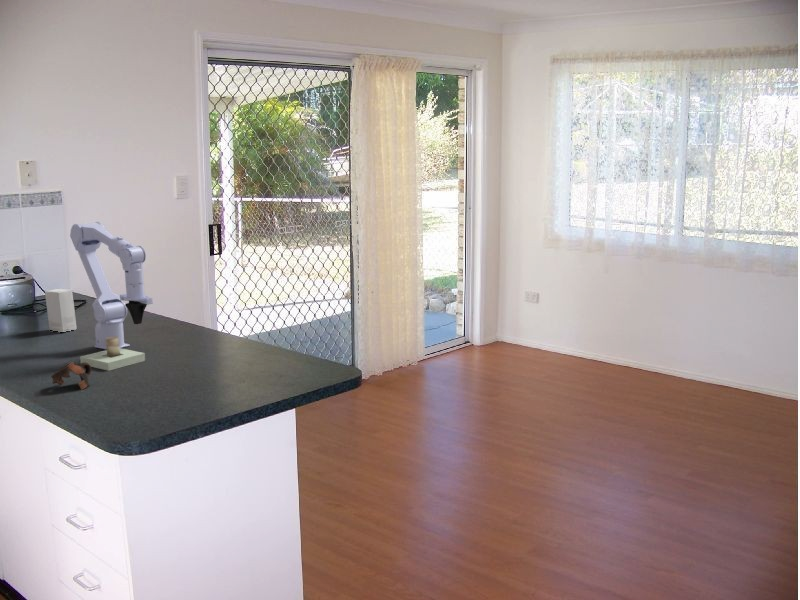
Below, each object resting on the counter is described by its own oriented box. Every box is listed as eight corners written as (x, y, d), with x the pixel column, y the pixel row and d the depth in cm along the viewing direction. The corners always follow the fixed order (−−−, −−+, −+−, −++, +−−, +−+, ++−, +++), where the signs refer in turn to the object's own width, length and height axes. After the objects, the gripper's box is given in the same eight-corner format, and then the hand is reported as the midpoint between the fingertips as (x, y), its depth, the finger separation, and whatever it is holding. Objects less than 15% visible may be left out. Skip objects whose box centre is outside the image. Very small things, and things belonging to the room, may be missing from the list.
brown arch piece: (77, 394, 235) (60, 371, 233) (58, 404, 240) (41, 381, 238) (105, 373, 245) (88, 350, 243) (86, 383, 250) (69, 361, 248)
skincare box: (77, 330, 313) (73, 289, 310) (61, 333, 308) (58, 292, 305) (63, 327, 317) (59, 287, 315) (47, 331, 312) (44, 290, 309)
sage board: (80, 364, 265) (80, 356, 264) (117, 354, 276) (116, 347, 276) (108, 370, 257) (108, 362, 257) (145, 360, 269) (144, 353, 268)
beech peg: (105, 362, 266) (103, 338, 265) (115, 360, 270) (113, 336, 268) (113, 364, 264) (111, 340, 263) (123, 361, 268) (121, 337, 266)
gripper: (110, 283, 275) (114, 323, 277) (138, 287, 266) (141, 328, 269) (128, 280, 280) (131, 319, 283) (156, 283, 272) (159, 324, 274)
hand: (137, 323), depth 276 cm, fingers closed
